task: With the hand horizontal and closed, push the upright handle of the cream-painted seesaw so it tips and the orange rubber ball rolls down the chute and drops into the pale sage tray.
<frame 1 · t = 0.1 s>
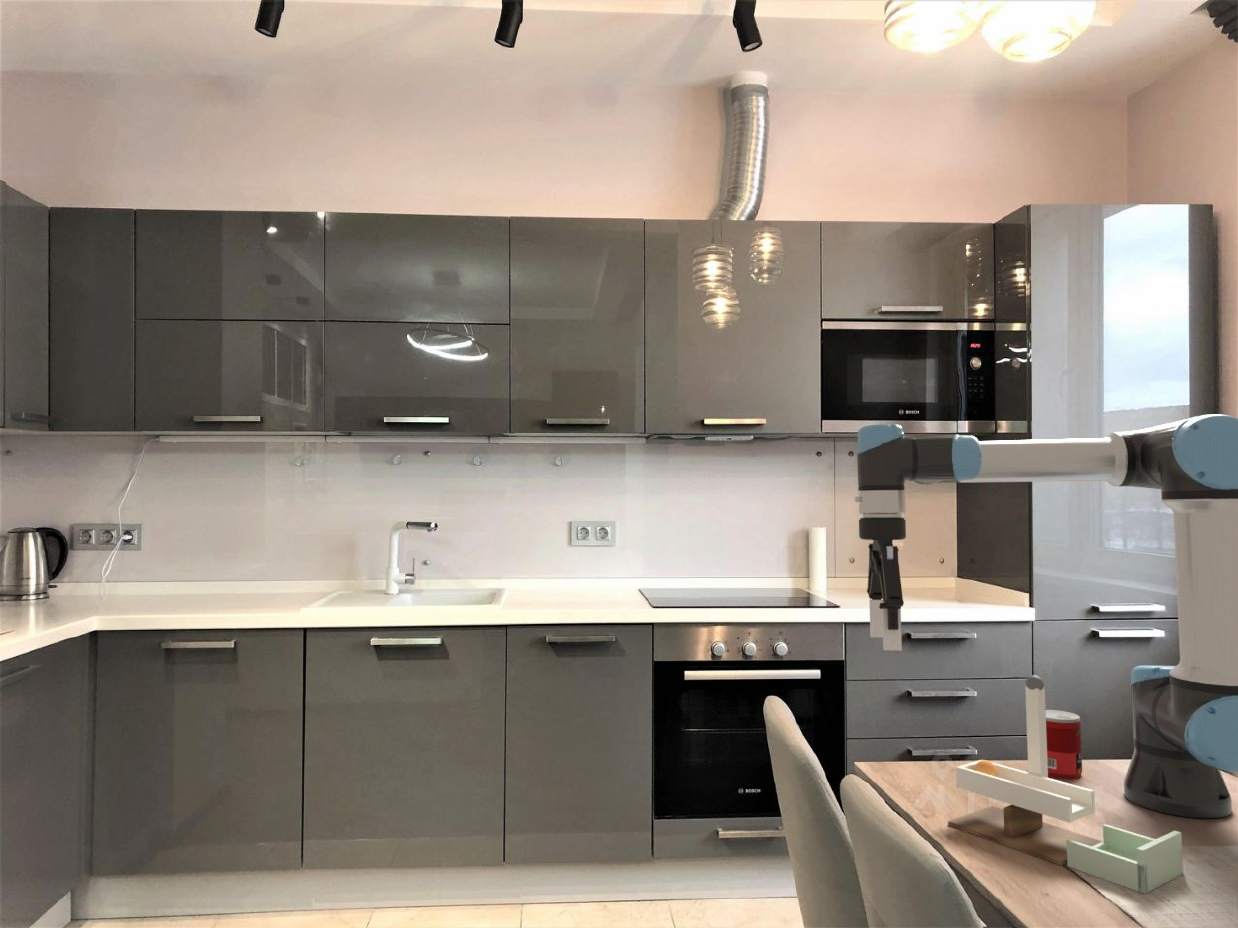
hand: (885, 643, 135), 28 cm above the table, tool pointing down, fingers open, 13 cm apart
canned food: (1058, 773, 154), on the table
tray: (1124, 869, 112), on the table
ball: (986, 770, 130), point 8 cm above the table, touching seesaw
stand: (1023, 835, 124), on the table
seesaw: (1024, 737, 126), point 15 cm above the table, hinge at 0.0°, touching ball
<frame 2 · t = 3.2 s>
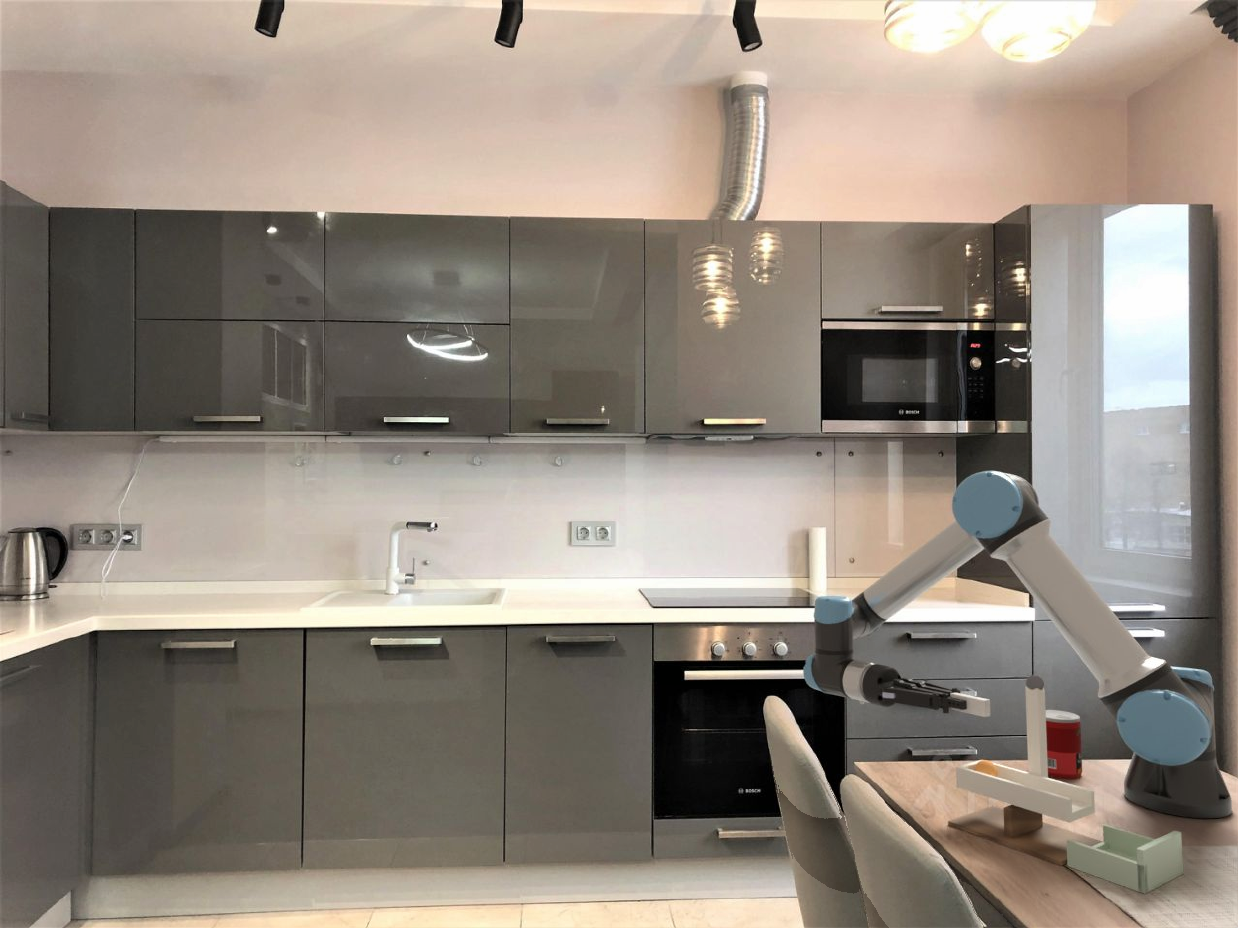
hand: (987, 708, 134), 17 cm above the table, tool horizontal, fingers closed
nothing on the table moved.
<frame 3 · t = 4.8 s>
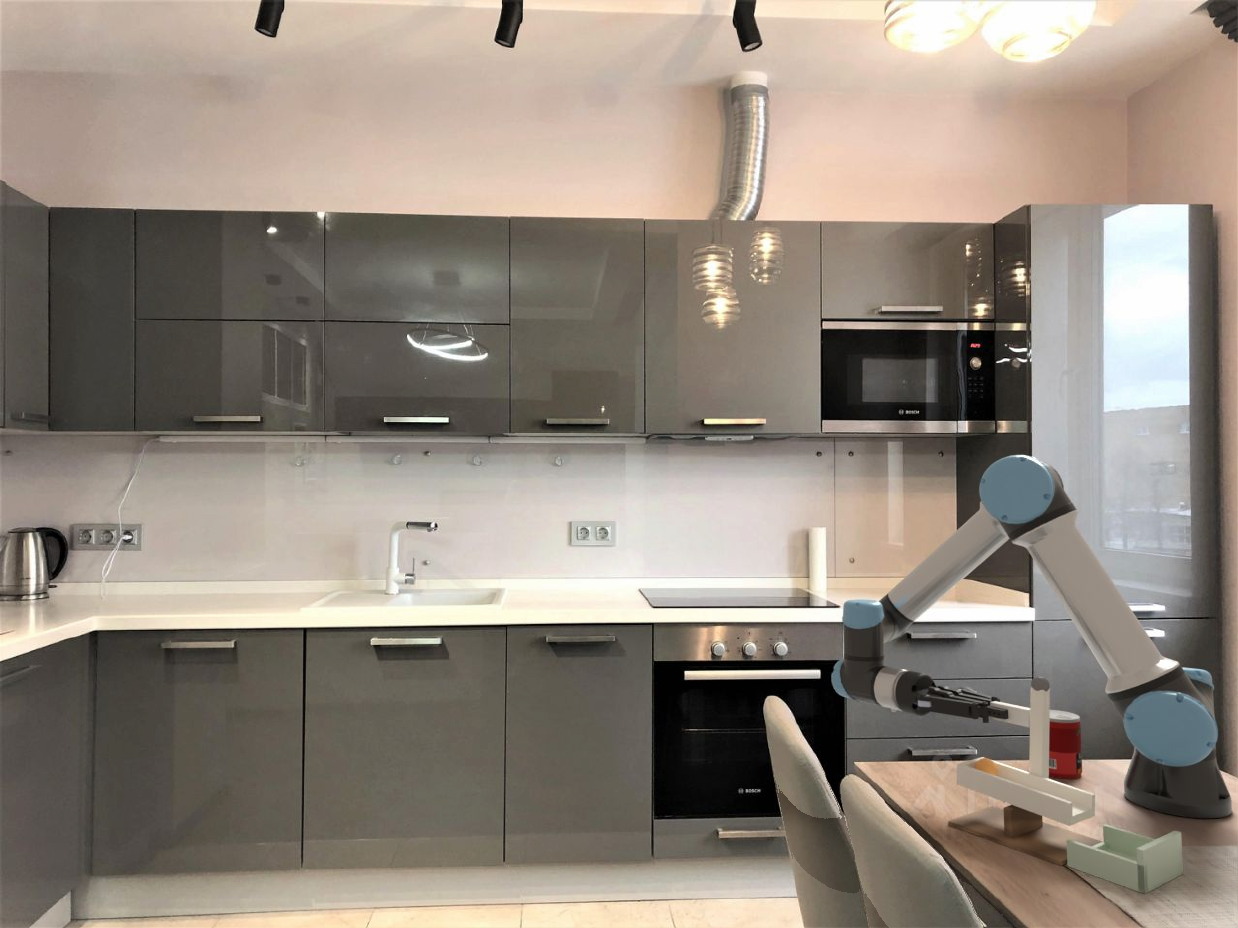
hand: (1030, 717, 128), 17 cm above the table, tool horizontal, fingers closed
seesaw: (1027, 738, 125), point 15 cm above the table, hinge at 3.1°, touching ball, gripper
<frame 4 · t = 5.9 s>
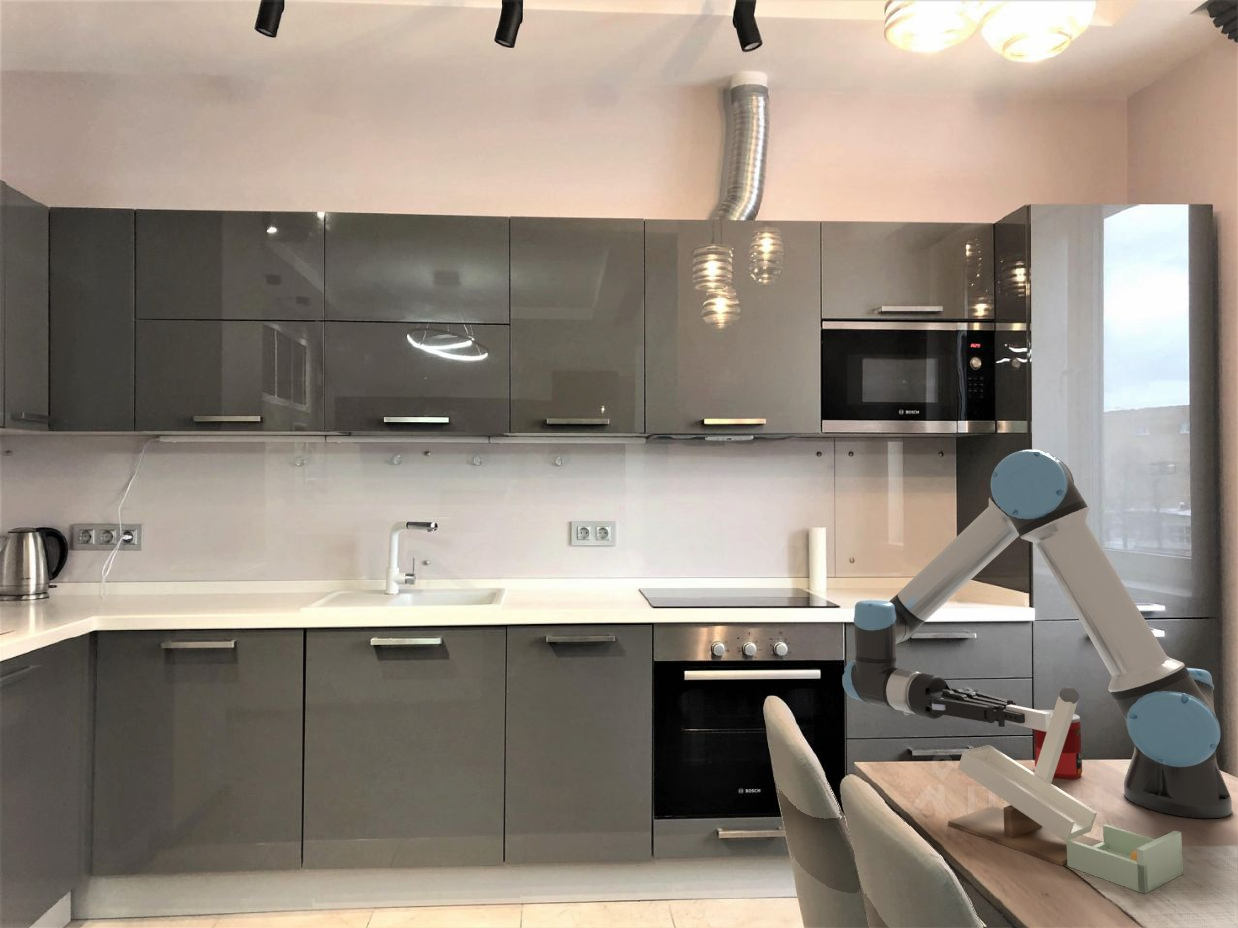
hand: (1048, 722, 126), 17 cm above the table, tool horizontal, fingers closed
ball: (1144, 861, 110), point 2 cm above the table, tilted 153°, touching tray
seesaw: (1042, 744, 123), point 14 cm above the table, hinge at 18.9°, touching gripper
everything else where it was.
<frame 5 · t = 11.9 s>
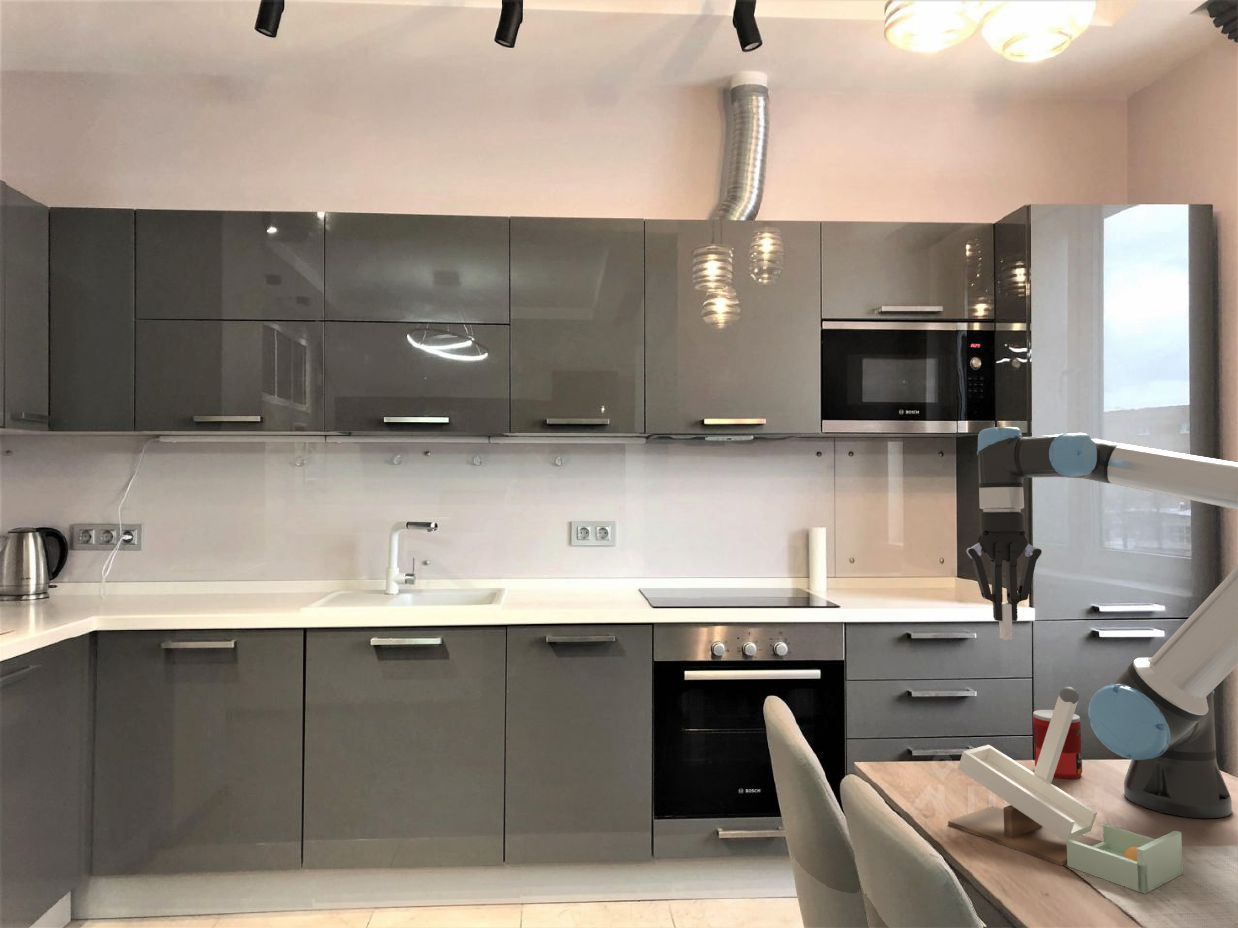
hand: (1006, 638, 148), 26 cm above the table, tool pointing down, fingers closed
ball: (1137, 859, 111), point 2 cm above the table, tilted 125°, touching tray
seesaw: (1042, 744, 123), point 14 cm above the table, hinge at 18.9°
everything else where it was.
at the end: ball 1.8 cm from the tray (horizontally); ball point 2.0 cm above the table; seesaw at +19° (first picture: +0°) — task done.
